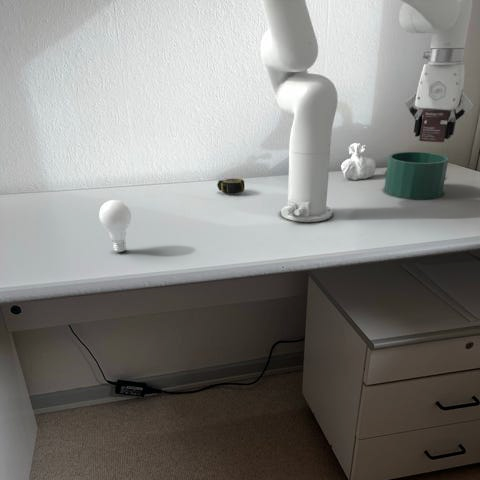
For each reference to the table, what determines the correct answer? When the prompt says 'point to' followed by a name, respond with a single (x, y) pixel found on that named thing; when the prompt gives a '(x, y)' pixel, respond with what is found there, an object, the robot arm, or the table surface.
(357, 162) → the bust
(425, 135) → the box
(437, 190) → the pot
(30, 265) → the table surface
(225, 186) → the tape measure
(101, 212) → the lightbulb
